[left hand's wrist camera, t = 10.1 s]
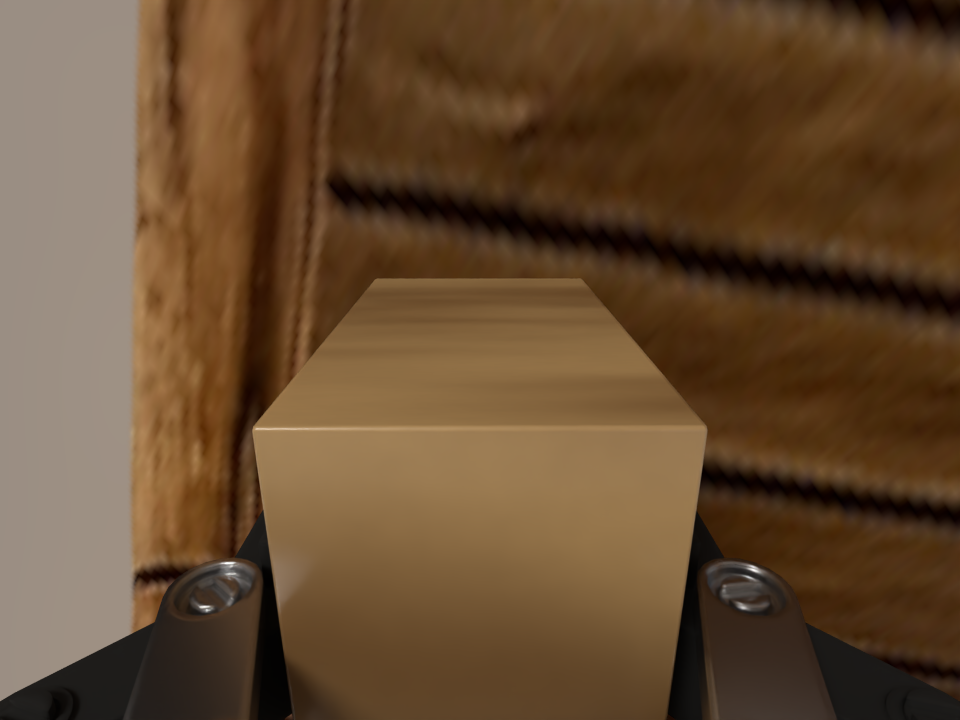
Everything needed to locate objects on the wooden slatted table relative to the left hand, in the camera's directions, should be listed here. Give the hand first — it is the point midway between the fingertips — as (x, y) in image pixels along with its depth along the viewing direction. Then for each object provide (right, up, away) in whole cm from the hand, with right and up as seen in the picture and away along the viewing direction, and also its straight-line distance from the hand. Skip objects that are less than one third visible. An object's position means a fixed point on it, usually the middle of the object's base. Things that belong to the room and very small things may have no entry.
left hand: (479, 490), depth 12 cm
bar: (0, -28, +13) cm, 31 cm away
